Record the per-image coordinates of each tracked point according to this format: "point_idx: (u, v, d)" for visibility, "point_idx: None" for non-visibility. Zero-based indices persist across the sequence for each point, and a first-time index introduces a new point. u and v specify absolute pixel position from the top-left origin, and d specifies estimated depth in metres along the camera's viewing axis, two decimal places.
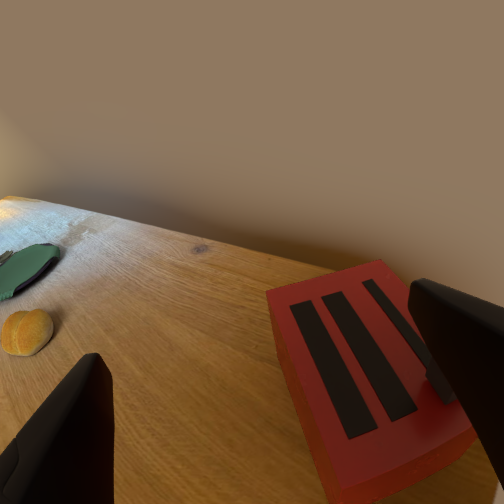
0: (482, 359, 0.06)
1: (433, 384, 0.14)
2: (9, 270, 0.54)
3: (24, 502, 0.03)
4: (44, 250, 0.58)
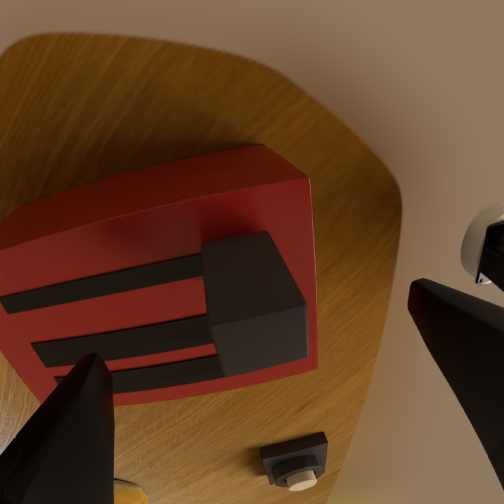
0: (482, 359, 0.06)
1: None
2: None
3: (24, 503, 0.03)
4: None
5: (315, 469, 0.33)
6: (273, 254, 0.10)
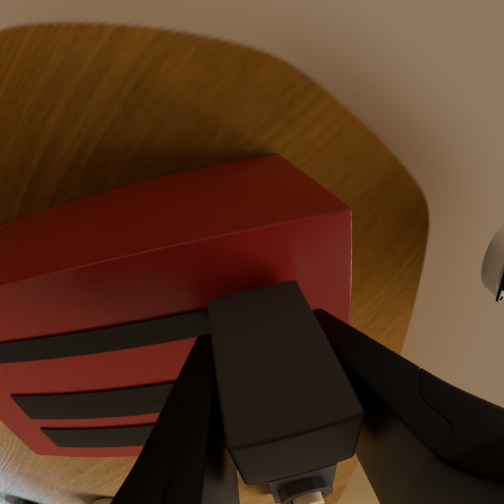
0: None
1: None
2: None
3: None
4: None
5: (323, 490, 0.30)
6: (309, 324, 0.07)
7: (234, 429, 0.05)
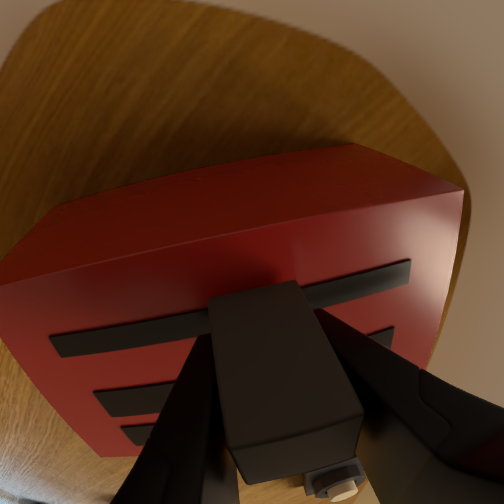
0: None
1: None
2: None
3: None
4: None
5: (357, 479, 0.30)
6: (309, 323, 0.07)
7: (234, 429, 0.05)
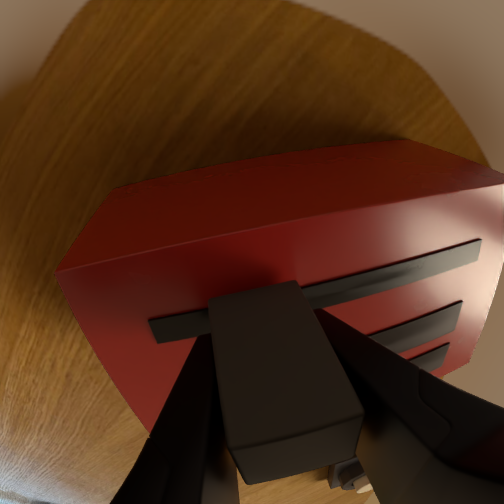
0: None
1: None
2: None
3: None
4: None
5: None
6: (309, 323, 0.07)
7: (235, 429, 0.05)
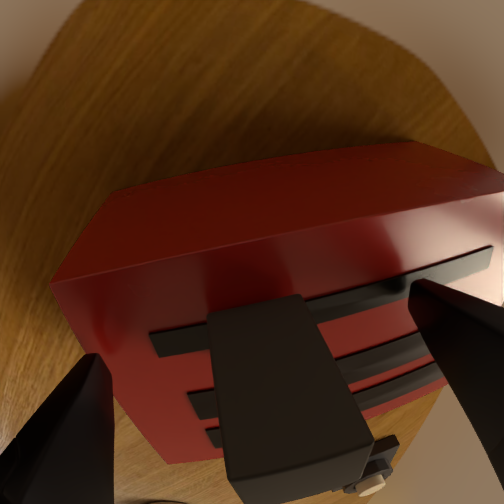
0: (482, 359, 0.06)
1: None
2: None
3: (24, 503, 0.03)
4: None
5: (385, 472, 0.30)
6: (315, 343, 0.06)
7: (235, 460, 0.04)
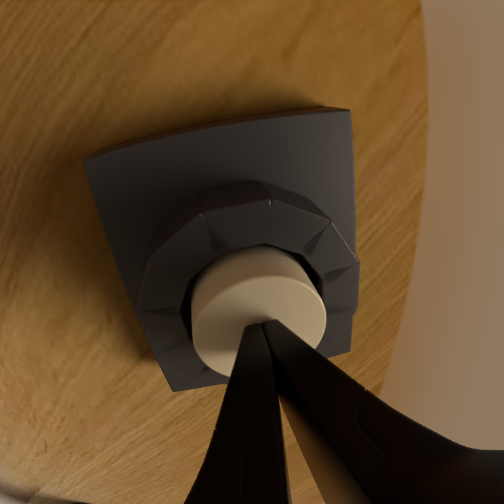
0: (306, 432, 0.05)
1: None
2: None
3: (277, 501, 0.03)
4: None
5: (318, 251, 0.09)
6: None
7: None
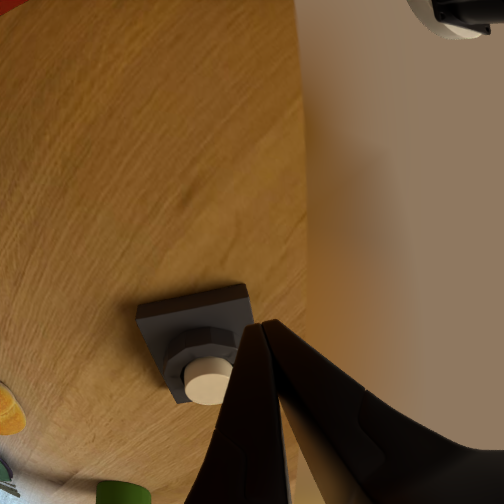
0: (306, 432, 0.05)
1: None
2: None
3: (277, 501, 0.03)
4: None
5: (232, 357, 0.21)
6: None
7: None
